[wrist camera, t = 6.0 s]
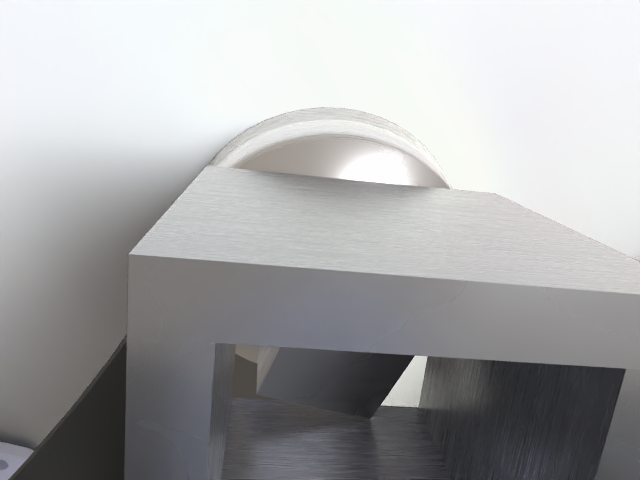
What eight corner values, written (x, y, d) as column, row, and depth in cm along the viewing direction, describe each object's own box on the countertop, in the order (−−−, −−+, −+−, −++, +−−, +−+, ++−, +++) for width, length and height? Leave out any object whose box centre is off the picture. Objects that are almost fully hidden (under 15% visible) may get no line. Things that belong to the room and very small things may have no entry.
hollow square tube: (192, 428, 10) (119, 726, 5) (206, 165, 9) (128, 254, 4) (447, 440, 11) (586, 721, 6) (495, 193, 9) (721, 299, 5)
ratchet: (236, 61, 10) (216, 157, 7) (502, 162, 12) (593, 280, 8) (109, 458, 17) (67, 607, 13) (291, 488, 18) (294, 629, 15)
